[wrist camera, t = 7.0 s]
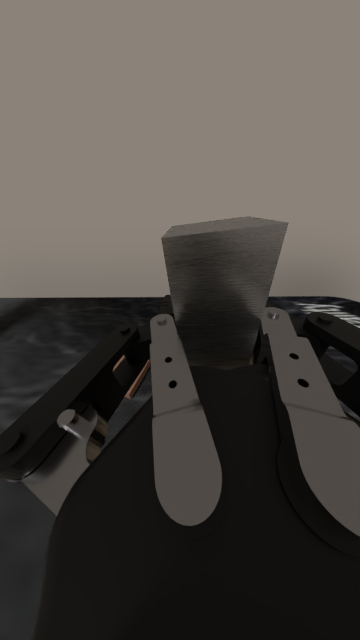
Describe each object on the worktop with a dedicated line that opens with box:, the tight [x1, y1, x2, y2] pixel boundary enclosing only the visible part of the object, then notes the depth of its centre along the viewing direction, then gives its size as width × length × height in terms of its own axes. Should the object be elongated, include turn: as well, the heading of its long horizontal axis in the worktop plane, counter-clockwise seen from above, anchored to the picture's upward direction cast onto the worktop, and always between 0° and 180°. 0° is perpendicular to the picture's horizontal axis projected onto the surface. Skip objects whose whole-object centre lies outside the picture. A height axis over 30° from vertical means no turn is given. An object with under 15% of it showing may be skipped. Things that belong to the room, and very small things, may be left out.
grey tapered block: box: [161, 217, 288, 370], centre depth 11 cm, size 4×4×14 cm
